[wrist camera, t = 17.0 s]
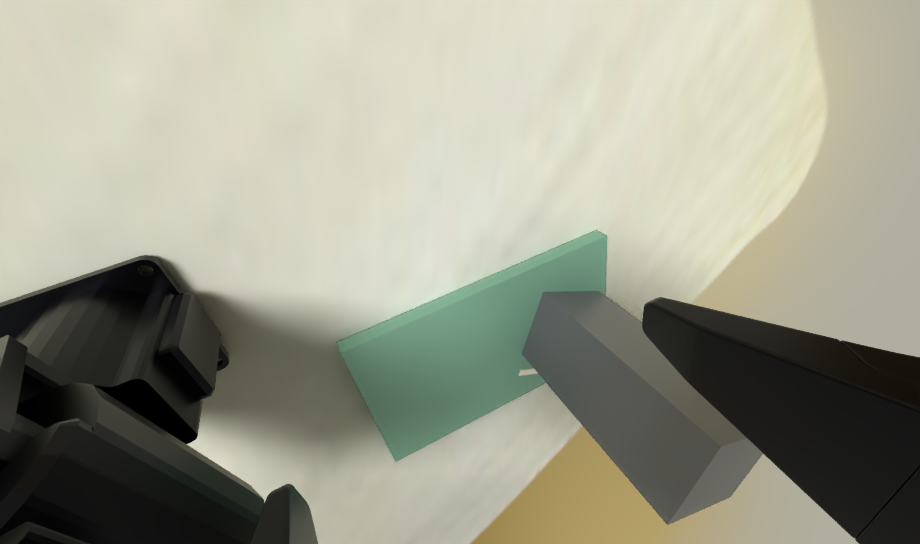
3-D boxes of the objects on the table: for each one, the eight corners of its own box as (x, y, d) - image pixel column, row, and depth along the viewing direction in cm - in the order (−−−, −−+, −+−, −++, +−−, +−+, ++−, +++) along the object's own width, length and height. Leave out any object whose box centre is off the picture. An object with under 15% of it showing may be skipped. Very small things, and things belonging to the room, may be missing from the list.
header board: (391, 450, 29) (406, 494, 26) (336, 342, 22) (348, 384, 20) (595, 344, 33) (626, 372, 30) (596, 230, 27) (636, 251, 24)
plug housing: (521, 353, 28) (667, 525, 18) (543, 291, 26) (721, 446, 16) (574, 348, 30) (730, 497, 20) (598, 290, 28) (784, 425, 18)
